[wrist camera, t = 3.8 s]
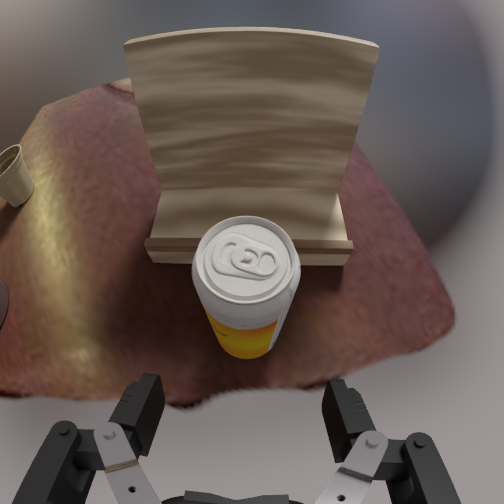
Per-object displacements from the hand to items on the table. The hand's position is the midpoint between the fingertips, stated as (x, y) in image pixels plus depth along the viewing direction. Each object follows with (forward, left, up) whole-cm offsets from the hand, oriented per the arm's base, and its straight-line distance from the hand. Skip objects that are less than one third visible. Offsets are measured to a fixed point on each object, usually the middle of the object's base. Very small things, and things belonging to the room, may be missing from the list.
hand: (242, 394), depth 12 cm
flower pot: (+7, +50, -14) cm, 52 cm away
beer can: (+6, +3, -14) cm, 16 cm away
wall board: (+18, +8, -14) cm, 24 cm away
